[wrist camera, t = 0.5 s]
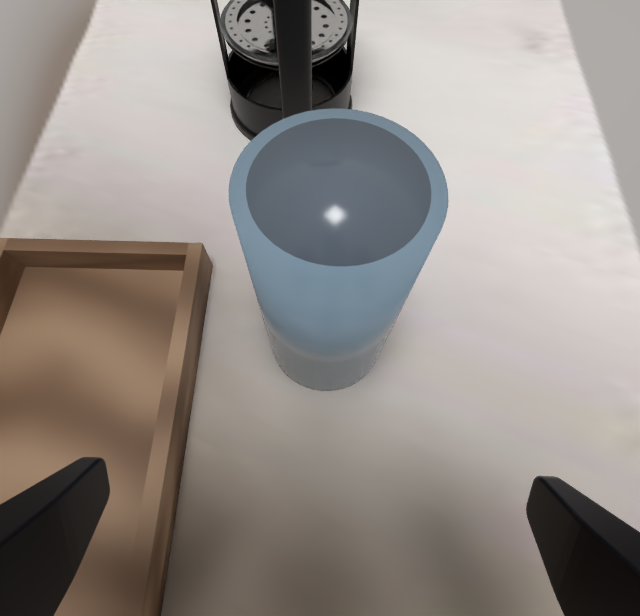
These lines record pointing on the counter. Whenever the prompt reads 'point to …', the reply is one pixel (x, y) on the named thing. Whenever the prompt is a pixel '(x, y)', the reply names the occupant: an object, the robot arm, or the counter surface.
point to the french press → (286, 55)
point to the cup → (335, 235)
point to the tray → (103, 394)
